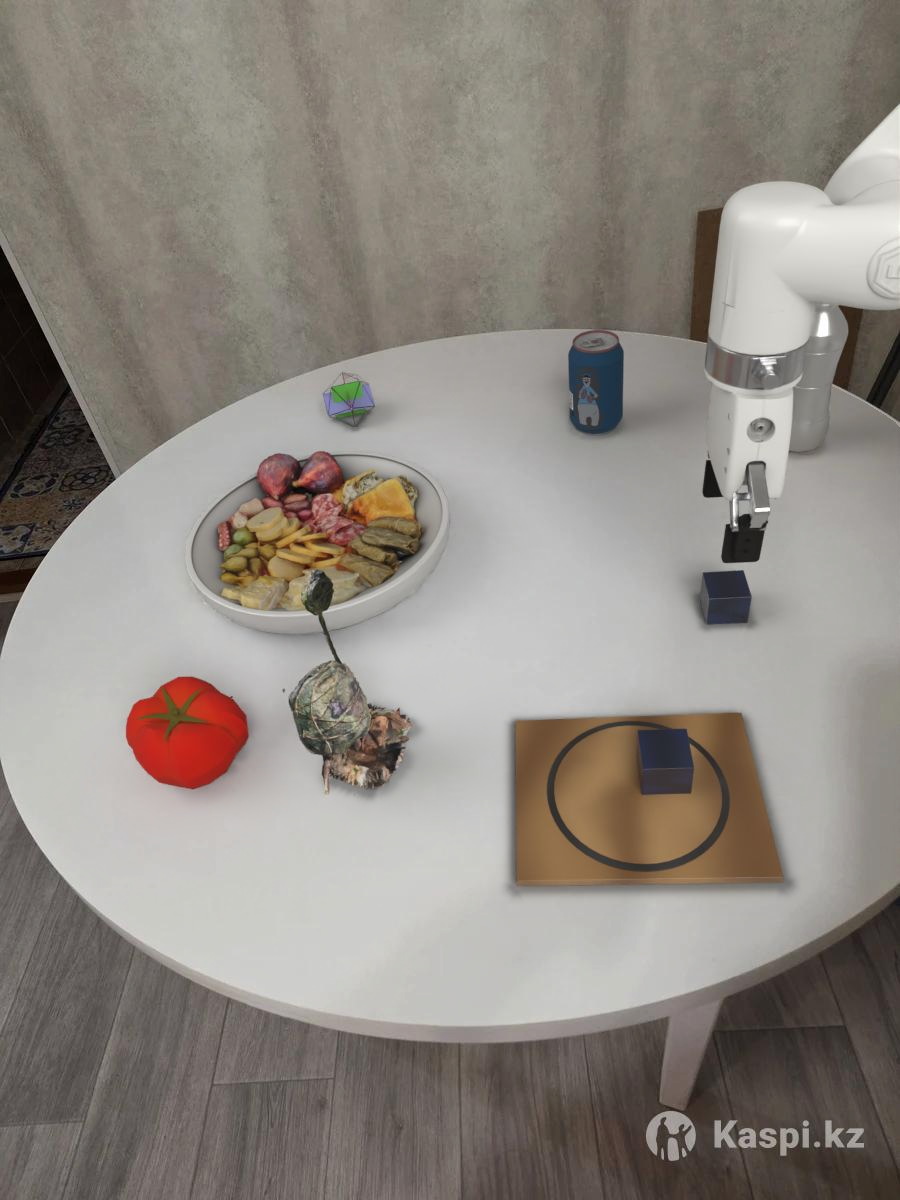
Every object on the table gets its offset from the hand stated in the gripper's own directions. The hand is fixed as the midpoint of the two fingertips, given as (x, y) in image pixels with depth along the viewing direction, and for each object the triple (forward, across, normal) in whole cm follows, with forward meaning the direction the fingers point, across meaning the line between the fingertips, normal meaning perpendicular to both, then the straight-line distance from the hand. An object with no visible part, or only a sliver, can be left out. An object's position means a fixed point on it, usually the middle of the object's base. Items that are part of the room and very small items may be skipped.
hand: (729, 526), depth 80 cm
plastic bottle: (+11, +29, -15) cm, 34 cm away
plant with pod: (+12, -17, +34) cm, 40 cm away
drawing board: (+11, -22, +10) cm, 26 cm away
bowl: (+12, +12, +42) cm, 46 cm away
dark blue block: (+11, 0, -1) cm, 11 cm away
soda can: (+11, +37, +9) cm, 40 cm away
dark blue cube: (+10, -20, +8) cm, 24 cm away
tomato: (+12, -16, +50) cm, 54 cm away
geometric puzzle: (+12, +43, +43) cm, 62 cm away
